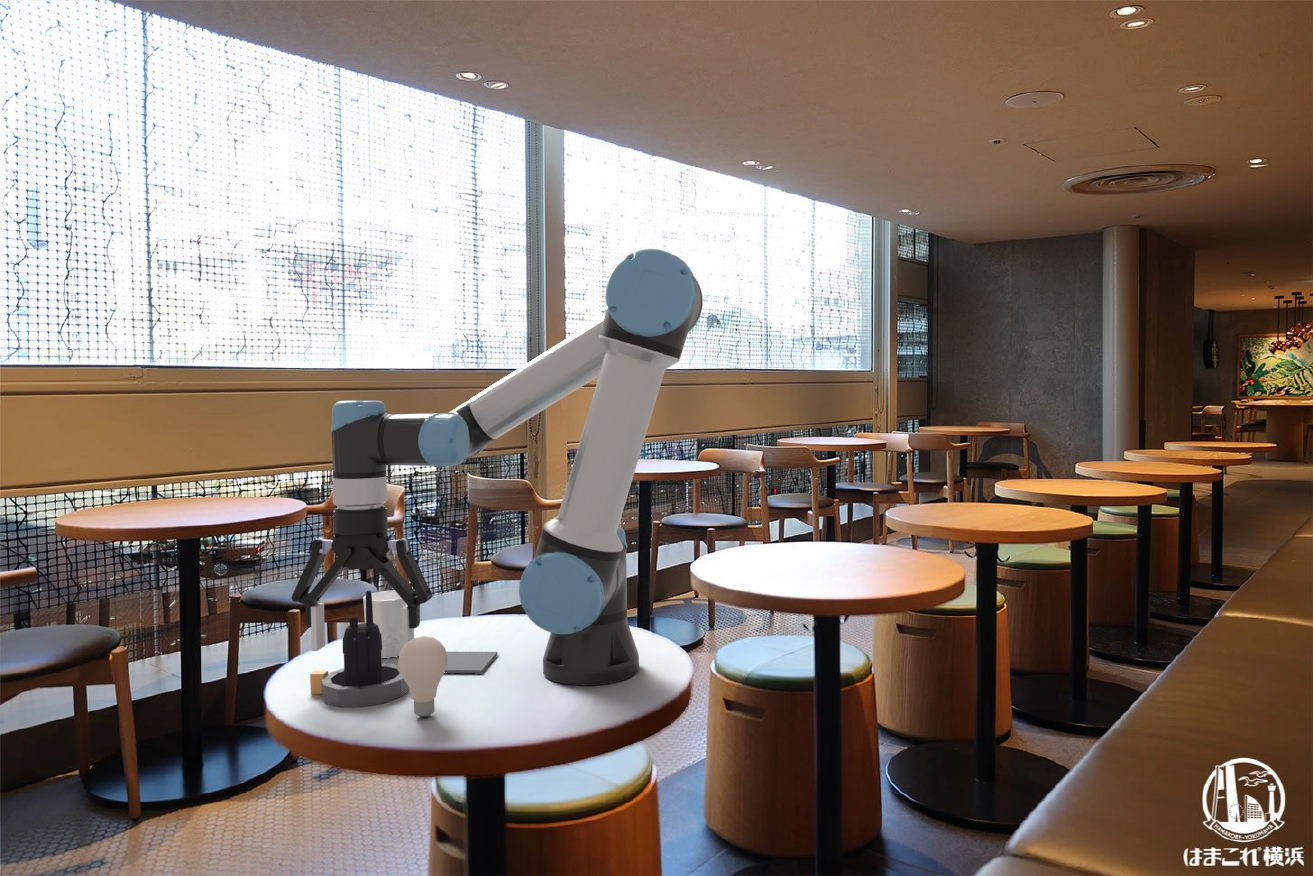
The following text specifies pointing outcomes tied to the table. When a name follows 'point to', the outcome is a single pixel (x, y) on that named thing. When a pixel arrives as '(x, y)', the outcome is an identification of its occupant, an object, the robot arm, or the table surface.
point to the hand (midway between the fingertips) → (363, 649)
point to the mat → (469, 662)
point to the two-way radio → (362, 650)
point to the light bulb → (423, 671)
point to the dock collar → (358, 688)
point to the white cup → (388, 620)
